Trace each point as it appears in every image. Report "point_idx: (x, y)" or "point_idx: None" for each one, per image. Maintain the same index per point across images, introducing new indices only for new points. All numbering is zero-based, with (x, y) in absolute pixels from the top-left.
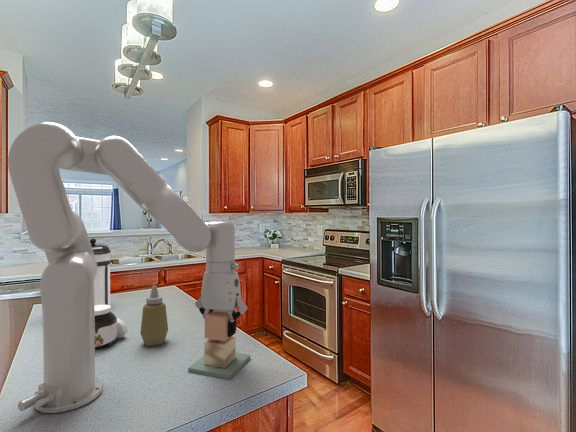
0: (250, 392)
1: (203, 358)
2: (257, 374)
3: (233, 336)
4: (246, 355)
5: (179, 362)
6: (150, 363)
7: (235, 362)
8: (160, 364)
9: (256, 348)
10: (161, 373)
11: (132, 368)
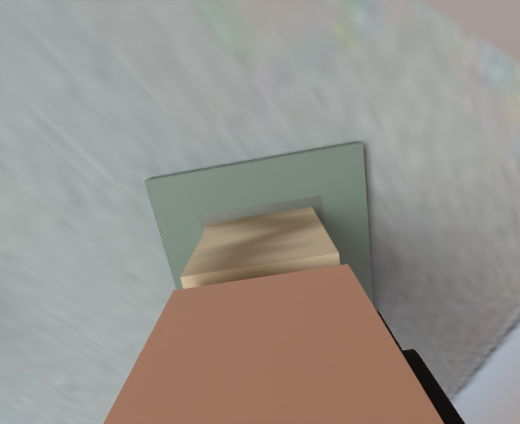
0: (476, 344)
1: None
2: (453, 245)
3: (325, 258)
4: (347, 157)
5: (110, 310)
6: (31, 359)
7: (337, 240)
8: (67, 349)
9: (324, 7)
10: None
11: (21, 402)
